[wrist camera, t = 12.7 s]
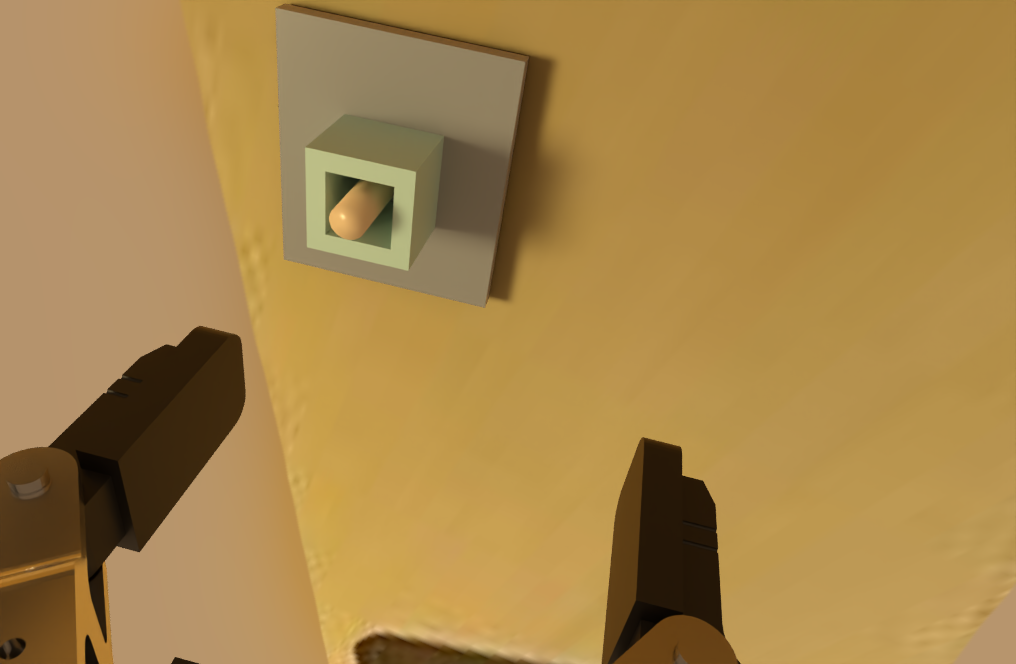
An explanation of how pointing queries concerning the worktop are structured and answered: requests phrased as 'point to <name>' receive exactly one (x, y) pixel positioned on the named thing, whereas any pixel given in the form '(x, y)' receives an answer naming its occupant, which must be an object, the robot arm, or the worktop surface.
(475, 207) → the board
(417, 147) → the collar
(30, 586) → the robot arm
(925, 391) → the worktop surface
